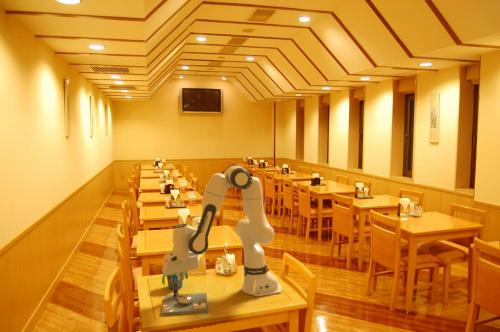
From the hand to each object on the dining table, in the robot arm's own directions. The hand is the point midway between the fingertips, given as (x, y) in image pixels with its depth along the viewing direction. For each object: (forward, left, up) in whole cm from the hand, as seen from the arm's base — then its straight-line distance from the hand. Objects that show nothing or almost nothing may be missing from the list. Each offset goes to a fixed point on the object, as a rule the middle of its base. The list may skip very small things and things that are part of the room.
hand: (181, 279), depth 215 cm
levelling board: (-2, +10, -10) cm, 14 cm away
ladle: (0, +7, -8) cm, 11 cm away
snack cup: (+4, -14, -10) cm, 18 cm away
